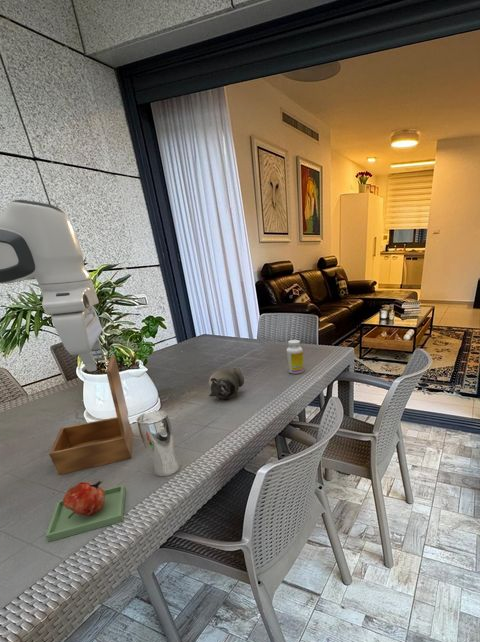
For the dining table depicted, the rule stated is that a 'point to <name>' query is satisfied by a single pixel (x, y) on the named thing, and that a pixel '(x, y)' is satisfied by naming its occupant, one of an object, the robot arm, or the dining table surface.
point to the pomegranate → (84, 498)
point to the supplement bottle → (295, 357)
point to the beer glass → (159, 441)
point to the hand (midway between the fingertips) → (95, 363)
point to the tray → (82, 523)
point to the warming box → (91, 445)
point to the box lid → (117, 394)
